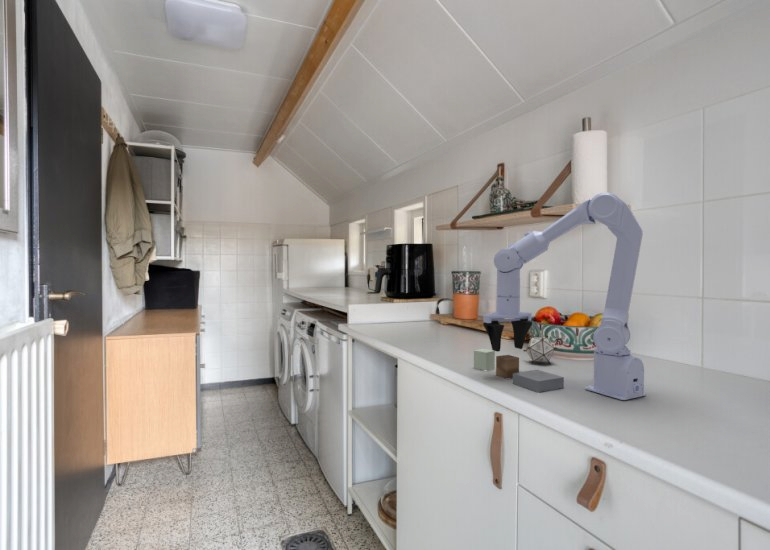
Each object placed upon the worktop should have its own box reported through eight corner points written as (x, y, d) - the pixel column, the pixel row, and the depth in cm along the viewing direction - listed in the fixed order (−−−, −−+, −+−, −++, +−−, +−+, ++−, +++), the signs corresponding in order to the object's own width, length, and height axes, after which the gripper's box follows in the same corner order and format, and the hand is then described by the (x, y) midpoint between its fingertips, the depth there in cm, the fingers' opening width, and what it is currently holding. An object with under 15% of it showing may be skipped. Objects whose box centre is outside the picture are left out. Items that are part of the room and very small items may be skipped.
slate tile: (563, 387, 99) (563, 377, 98) (538, 392, 95) (538, 381, 95) (536, 379, 106) (537, 369, 106) (512, 383, 102) (512, 373, 102)
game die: (542, 374, 126) (558, 346, 128) (550, 370, 118) (566, 340, 120) (514, 357, 128) (530, 330, 130) (520, 353, 120) (537, 323, 122)
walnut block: (519, 377, 108) (519, 357, 108) (507, 379, 106) (507, 359, 106) (507, 373, 112) (507, 354, 112) (496, 375, 110) (496, 356, 110)
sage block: (494, 368, 117) (494, 350, 117) (486, 371, 114) (486, 352, 114) (482, 366, 120) (482, 348, 120) (473, 368, 117) (473, 350, 117)
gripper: (517, 294, 116) (517, 344, 116) (475, 296, 109) (474, 349, 109) (538, 296, 109) (537, 349, 110) (494, 298, 103) (493, 354, 103)
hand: (507, 349), depth 109 cm, fingers open, 7 cm apart
